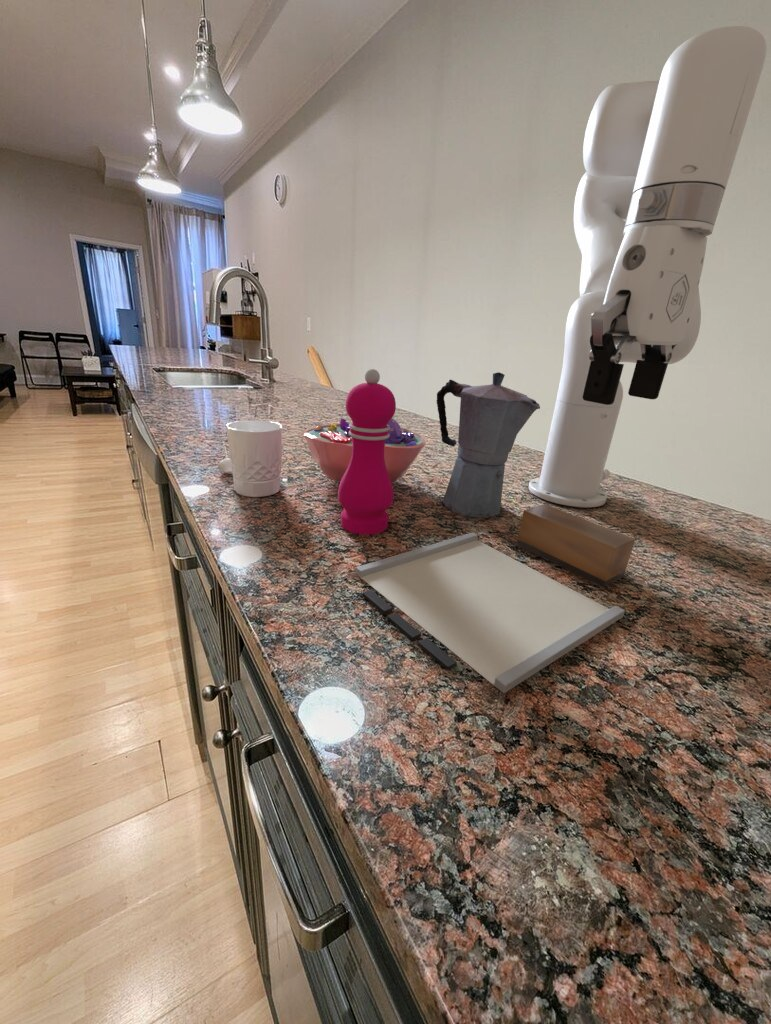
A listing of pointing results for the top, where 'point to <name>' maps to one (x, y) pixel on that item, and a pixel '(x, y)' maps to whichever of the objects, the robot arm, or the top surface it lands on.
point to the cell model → (336, 448)
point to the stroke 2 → (404, 626)
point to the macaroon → (225, 466)
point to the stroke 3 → (437, 653)
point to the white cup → (255, 456)
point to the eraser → (575, 544)
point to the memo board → (488, 607)
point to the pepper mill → (367, 458)
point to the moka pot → (482, 443)
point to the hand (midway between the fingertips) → (620, 399)
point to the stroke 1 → (377, 602)
